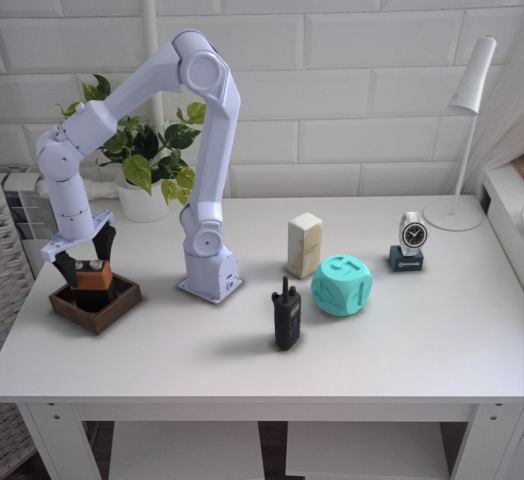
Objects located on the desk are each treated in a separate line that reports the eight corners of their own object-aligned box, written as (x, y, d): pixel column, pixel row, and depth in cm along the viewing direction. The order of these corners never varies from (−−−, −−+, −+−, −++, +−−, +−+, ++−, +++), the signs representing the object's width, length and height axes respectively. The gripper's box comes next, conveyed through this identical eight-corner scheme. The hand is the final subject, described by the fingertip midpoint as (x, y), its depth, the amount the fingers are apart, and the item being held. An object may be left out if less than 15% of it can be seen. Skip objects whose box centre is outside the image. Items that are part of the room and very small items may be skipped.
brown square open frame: (142, 300, 116) (139, 284, 114) (98, 335, 110) (93, 319, 107) (98, 279, 121) (94, 263, 118) (53, 312, 114) (47, 296, 112)
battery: (113, 314, 114) (102, 270, 107) (77, 313, 114) (63, 269, 107) (119, 298, 117) (108, 255, 110) (83, 298, 117) (70, 254, 110)
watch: (395, 278, 119) (402, 229, 111) (386, 253, 125) (393, 205, 117) (424, 276, 119) (433, 227, 111) (414, 251, 125) (423, 203, 117)
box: (301, 279, 119) (302, 230, 112) (286, 269, 122) (286, 221, 114) (320, 268, 122) (323, 219, 114) (305, 258, 124) (307, 210, 116)
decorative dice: (344, 323, 110) (347, 287, 105) (309, 304, 114) (310, 269, 109) (370, 301, 114) (375, 265, 109) (335, 283, 118) (338, 248, 113)
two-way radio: (287, 354, 105) (287, 284, 94) (265, 345, 107) (263, 275, 96) (303, 335, 108) (305, 265, 98) (281, 326, 110) (281, 257, 100)
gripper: (86, 181, 107) (102, 247, 116) (19, 220, 98) (42, 288, 108) (116, 192, 104) (130, 259, 113) (49, 234, 95) (70, 302, 105)
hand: (89, 274), depth 110 cm, fingers open, 7 cm apart
